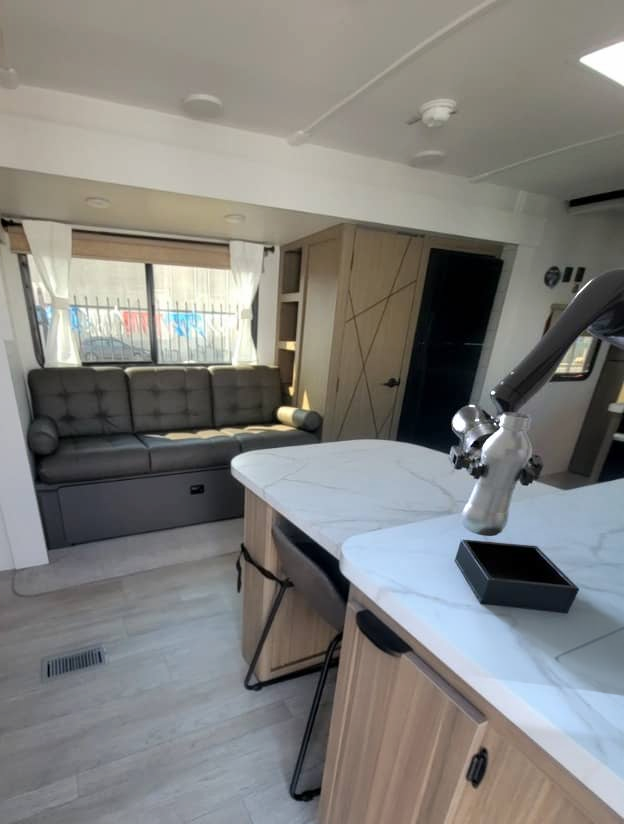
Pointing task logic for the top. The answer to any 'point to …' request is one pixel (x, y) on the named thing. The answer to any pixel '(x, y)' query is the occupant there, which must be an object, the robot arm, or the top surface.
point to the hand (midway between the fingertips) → (502, 476)
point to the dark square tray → (514, 576)
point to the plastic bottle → (498, 476)
